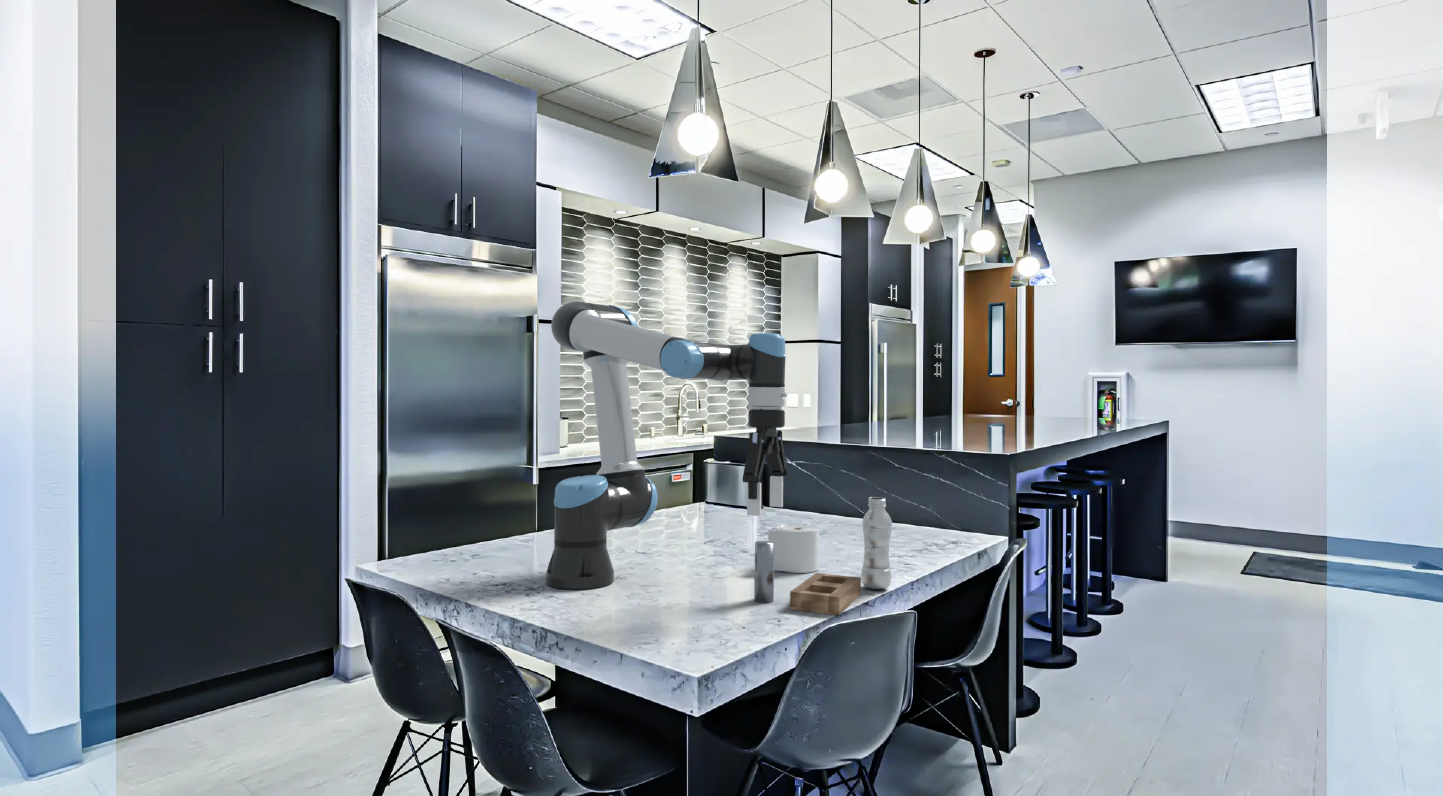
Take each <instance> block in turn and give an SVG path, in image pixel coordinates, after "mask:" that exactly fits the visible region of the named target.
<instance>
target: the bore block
mask: <svg viewBox="0 0 1443 796" xmlns="http://www.w3.org/2000/svg"><path fill="white" fill-rule="evenodd" d="M861 592H862V581H861V576H860V577H858V576H849V575H840V574H839V575H838V574H829V573H821V572H815V573H814V574H813V575H811V576H810V577H809V578H806V580H804V581H803V582H801V583H800V584H798V585H797V586H796V587H795V588H793V589H792V590H791V591H790V593H789V598H790V599H789V610H793V611H794V610H795V611H803V612H811V613H817V614H825V615H826V614H827V615H833V616H840V615H842V613H843V612H844V611H845V610H846V609H848V607H849V606H850V605H851V604H852V603H853V602H854V601H855V600H856V599H857V598H858V597H860V595H862V593H861Z"/></svg>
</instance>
